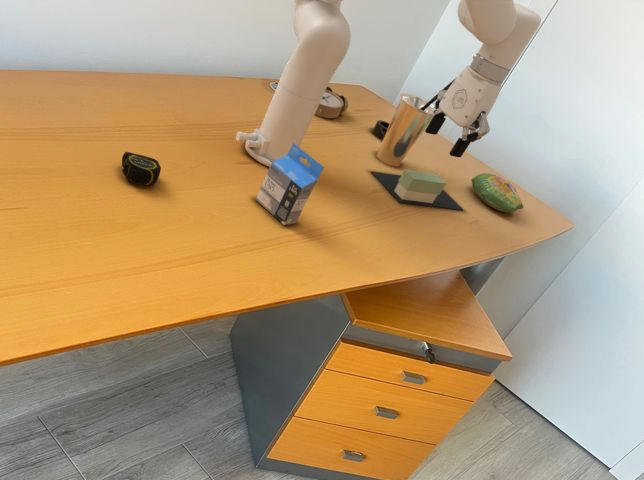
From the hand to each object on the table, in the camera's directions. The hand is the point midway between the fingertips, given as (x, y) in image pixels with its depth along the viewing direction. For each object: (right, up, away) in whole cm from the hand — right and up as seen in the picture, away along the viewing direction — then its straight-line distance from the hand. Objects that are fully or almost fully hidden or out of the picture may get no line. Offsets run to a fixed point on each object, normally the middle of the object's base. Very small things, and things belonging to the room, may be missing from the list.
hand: (442, 144), depth 154 cm
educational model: (+21, -8, +24) cm, 33 cm away
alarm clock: (-19, +20, +36) cm, 46 cm away
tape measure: (-66, -14, -26) cm, 72 cm away
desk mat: (-1, -7, +13) cm, 15 cm away
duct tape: (-3, +13, +35) cm, 37 cm away
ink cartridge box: (-39, -19, -19) cm, 47 cm away
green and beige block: (-4, -10, +9) cm, 13 cm away
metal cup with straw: (-5, +2, +22) cm, 23 cm away
